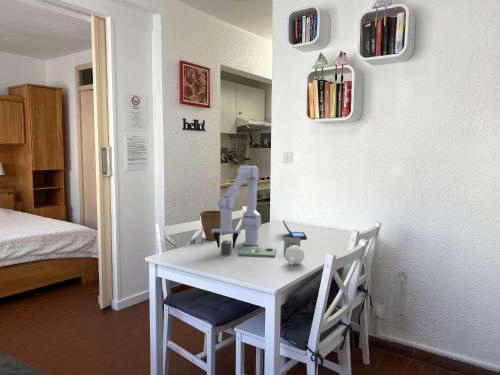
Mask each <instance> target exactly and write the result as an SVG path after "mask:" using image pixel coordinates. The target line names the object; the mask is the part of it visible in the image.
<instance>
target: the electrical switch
mask: <svg viewBox="0 0 500 375" xmlns="http://www.w3.org/2000/svg"><path fill="white" fill-rule="evenodd" d="M283 238H284V240H283V241H284V242H283V243H284V244H283V254H285V252H286V249H287V248H289V247H290V246H293V245H297V246H299V247H301V240H302V239H300V238H291V236H290V237H289V236H287V237H286V236H285V237H283Z"/></svg>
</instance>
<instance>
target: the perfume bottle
mask: <svg viewBox="0 0 500 375" xmlns="http://www.w3.org/2000/svg"><path fill="white" fill-rule="evenodd" d="M284 256H285V257H284V258H285V260H286V261H287V264H289V265H295V266H296V265H299V264H300V263H302V262H303V261H304V259H305V251H304V250H303V248H302V247H301V246H300V247H299V246H297V245H293V246H290V247H289V248H287V249H286V252H285V253H284Z"/></svg>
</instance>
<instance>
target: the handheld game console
mask: <svg viewBox="0 0 500 375" xmlns="http://www.w3.org/2000/svg"><path fill="white" fill-rule="evenodd" d="M282 222H283V224H284V227H285V228H286V230H287V232H288V234H289V236H290V237H291V238H300V239H301V240H307V239H308V237H307V235H306V234H305V232H303V231H291V230H290V229H289V227H288V225H287V223H286V222H285V220H284V219H283V220H282Z"/></svg>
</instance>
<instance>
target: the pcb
mask: <svg viewBox="0 0 500 375" xmlns="http://www.w3.org/2000/svg"><path fill="white" fill-rule="evenodd" d="M256 246H257V247H242V248H241V250H240V251H239V253H238V256H240V257H241V256H243V257H261V258H262V257H263V258H264V257H266V258H276V254H277V248H273V247H266V248H263V247H262V248H261V247H260V245H256Z"/></svg>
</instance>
